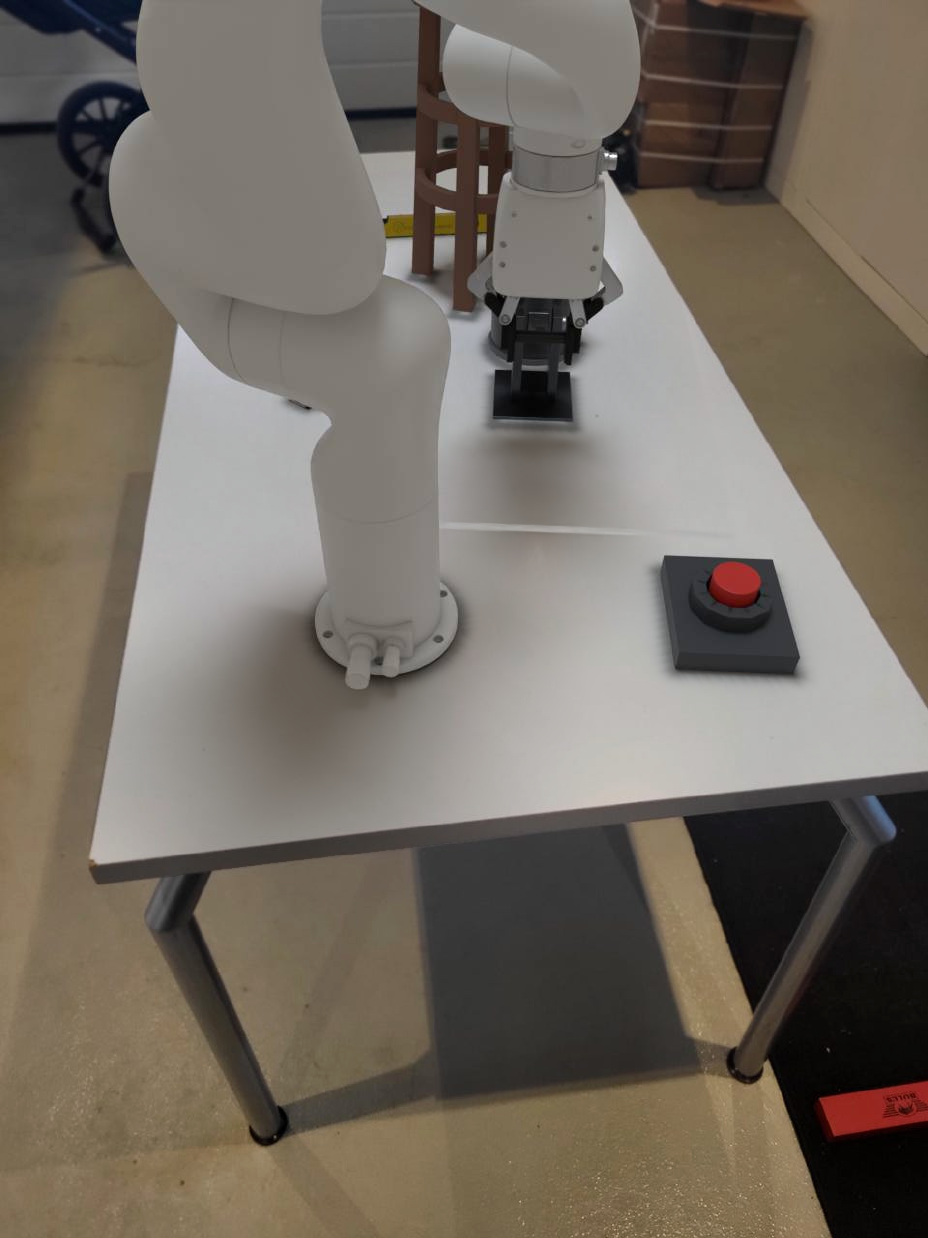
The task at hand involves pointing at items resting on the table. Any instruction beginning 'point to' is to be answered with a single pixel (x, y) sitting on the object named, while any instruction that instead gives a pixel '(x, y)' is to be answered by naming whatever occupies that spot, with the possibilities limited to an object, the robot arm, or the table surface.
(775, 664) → the power block
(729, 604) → the power button
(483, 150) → the stool
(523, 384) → the switch bracket
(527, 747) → the table surface
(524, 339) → the kettle switch
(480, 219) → the spirit level
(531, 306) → the kettle
